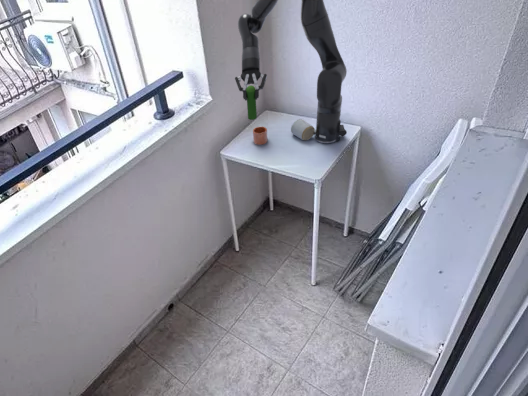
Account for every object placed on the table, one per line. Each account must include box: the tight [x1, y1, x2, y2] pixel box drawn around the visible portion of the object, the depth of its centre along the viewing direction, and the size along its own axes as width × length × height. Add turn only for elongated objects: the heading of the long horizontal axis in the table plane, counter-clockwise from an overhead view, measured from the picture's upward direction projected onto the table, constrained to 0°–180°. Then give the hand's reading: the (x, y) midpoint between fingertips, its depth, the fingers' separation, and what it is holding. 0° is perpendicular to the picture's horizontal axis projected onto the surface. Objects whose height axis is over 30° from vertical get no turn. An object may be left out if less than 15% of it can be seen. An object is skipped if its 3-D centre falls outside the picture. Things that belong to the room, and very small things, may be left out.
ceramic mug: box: [290, 118, 316, 141], centre depth 163 cm, size 11×8×8 cm
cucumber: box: [246, 84, 258, 121], centre depth 156 cm, size 4×4×15 cm
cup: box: [252, 126, 268, 146], centre depth 166 cm, size 6×6×6 cm
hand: (251, 99), depth 154 cm, fingers closed on cucumber, 4 cm apart
